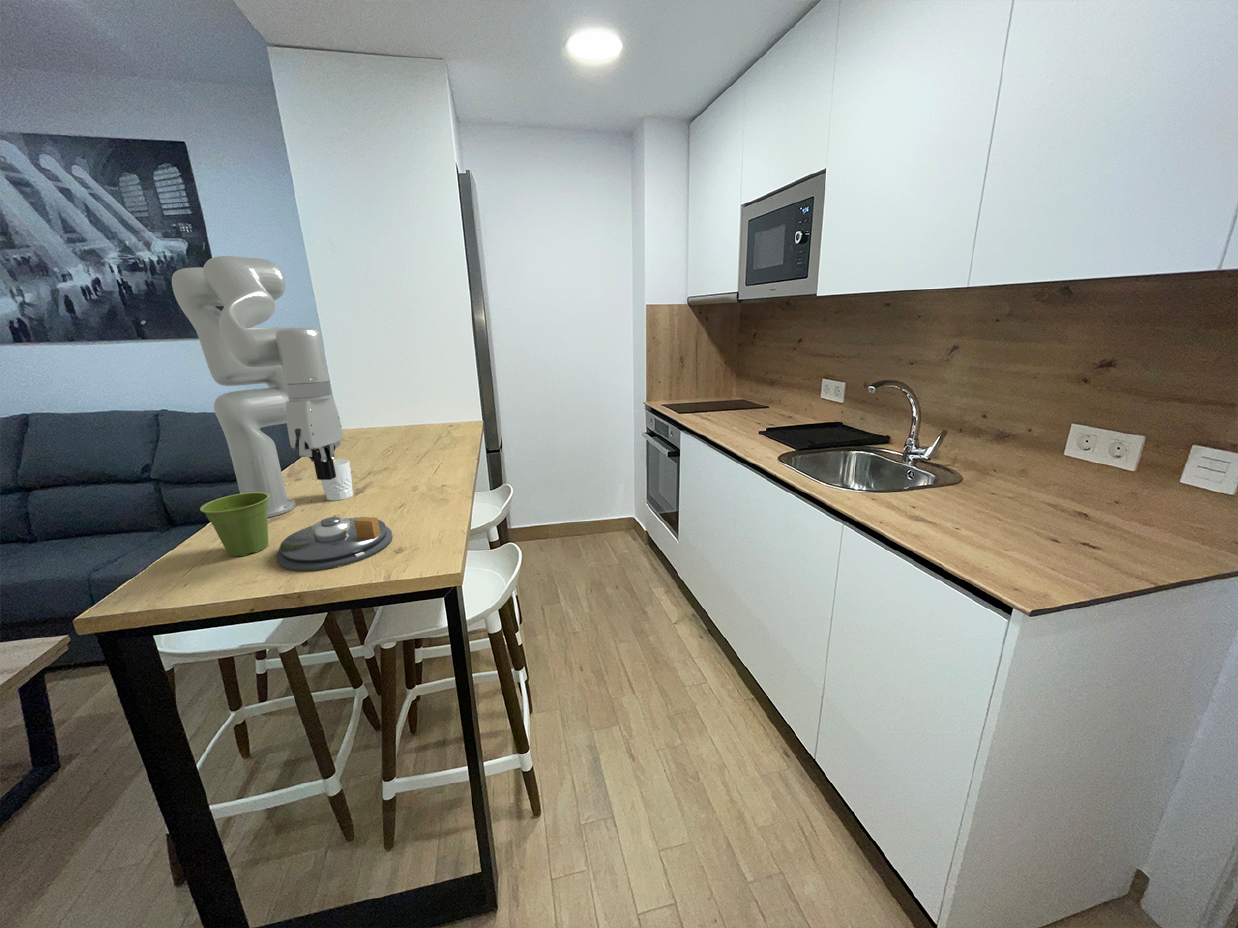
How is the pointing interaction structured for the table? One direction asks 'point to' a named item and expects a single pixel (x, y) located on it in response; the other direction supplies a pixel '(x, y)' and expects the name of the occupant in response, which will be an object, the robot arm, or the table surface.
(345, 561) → the turntable base
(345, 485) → the white cup
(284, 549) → the turntable
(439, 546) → the table surface
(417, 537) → the table surface
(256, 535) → the plant pot
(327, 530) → the cover
